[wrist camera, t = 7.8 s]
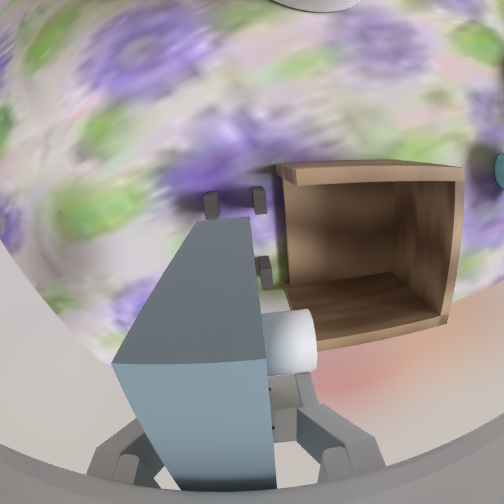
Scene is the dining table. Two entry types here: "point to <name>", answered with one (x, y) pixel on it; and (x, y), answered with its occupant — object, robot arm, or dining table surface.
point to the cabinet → (367, 245)
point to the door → (212, 363)
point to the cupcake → (500, 170)
